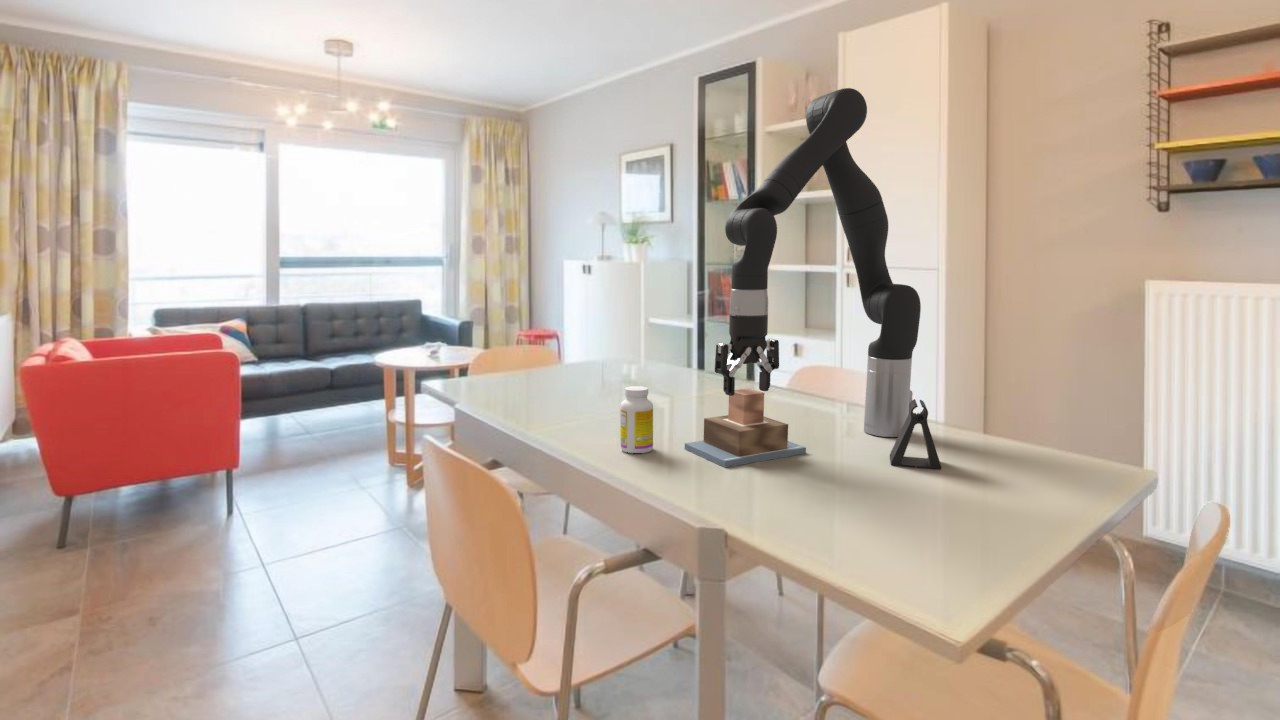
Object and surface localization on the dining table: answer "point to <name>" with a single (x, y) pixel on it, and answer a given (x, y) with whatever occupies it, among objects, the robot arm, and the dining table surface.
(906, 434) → the phone stand
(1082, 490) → the dining table surface
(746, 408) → the terracotta block
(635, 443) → the supplement bottle
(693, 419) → the dining table surface
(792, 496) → the dining table surface
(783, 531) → the dining table surface
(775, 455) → the base
